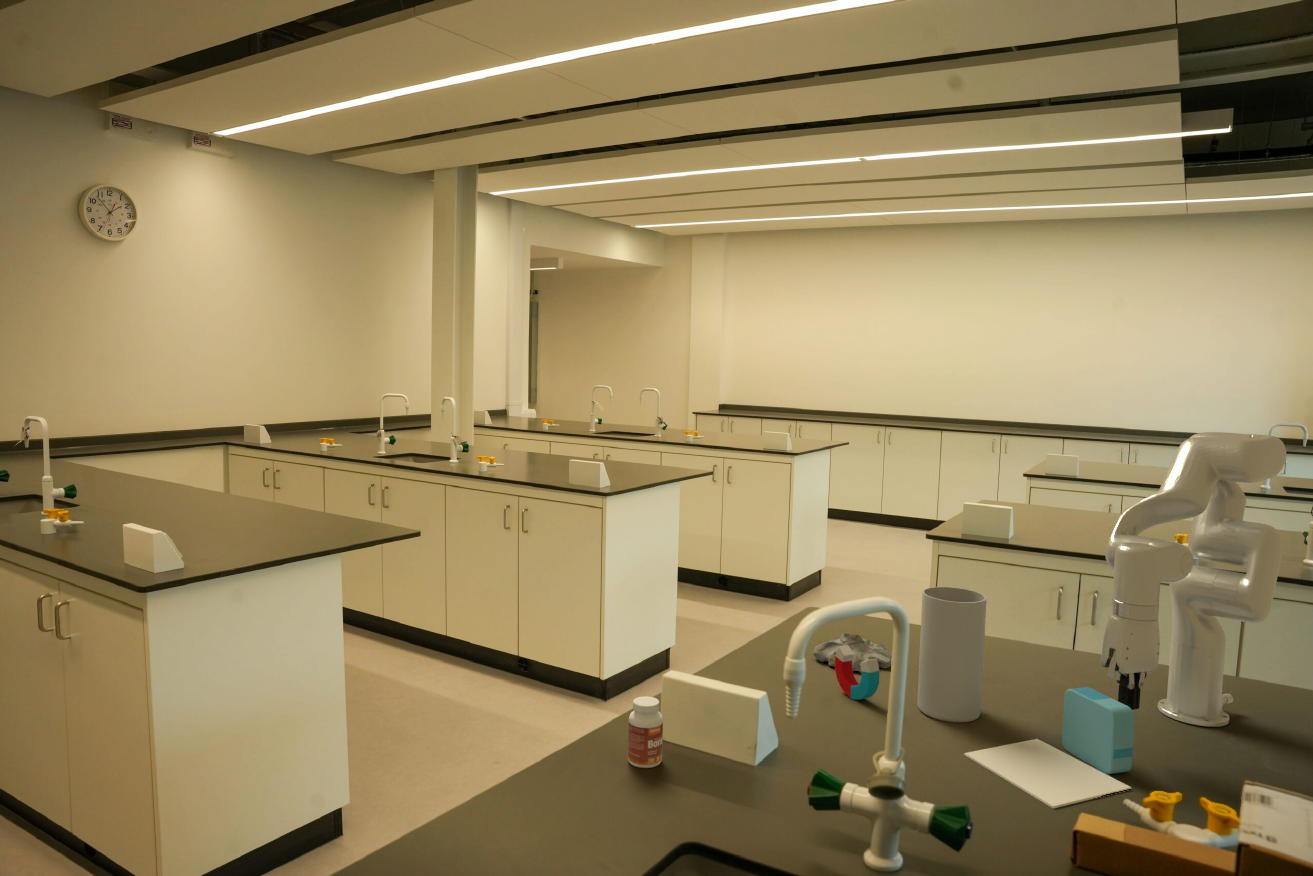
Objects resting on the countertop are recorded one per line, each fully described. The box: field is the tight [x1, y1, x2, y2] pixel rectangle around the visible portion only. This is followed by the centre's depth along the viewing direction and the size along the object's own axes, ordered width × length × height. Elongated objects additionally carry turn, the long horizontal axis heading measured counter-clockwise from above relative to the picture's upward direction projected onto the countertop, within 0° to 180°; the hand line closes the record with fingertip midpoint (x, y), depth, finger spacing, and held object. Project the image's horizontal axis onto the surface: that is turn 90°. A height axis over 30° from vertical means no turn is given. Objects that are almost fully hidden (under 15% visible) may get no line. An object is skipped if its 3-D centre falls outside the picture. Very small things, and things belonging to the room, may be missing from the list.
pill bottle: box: [627, 695, 664, 769], centre depth 147 cm, size 6×6×11 cm
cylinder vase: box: [916, 586, 987, 724], centre depth 171 cm, size 12×12×25 cm
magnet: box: [834, 645, 881, 701], centre depth 178 cm, size 12×3×10 cm, turn 26°
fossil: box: [812, 633, 893, 674], centre depth 202 cm, size 18×11×15 cm
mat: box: [963, 738, 1132, 810], centre depth 146 cm, size 18×20×1 cm
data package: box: [1061, 686, 1136, 775], centre depth 150 cm, size 12×4×12 cm, turn 15°
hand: (1128, 706), depth 153 cm, fingers closed
